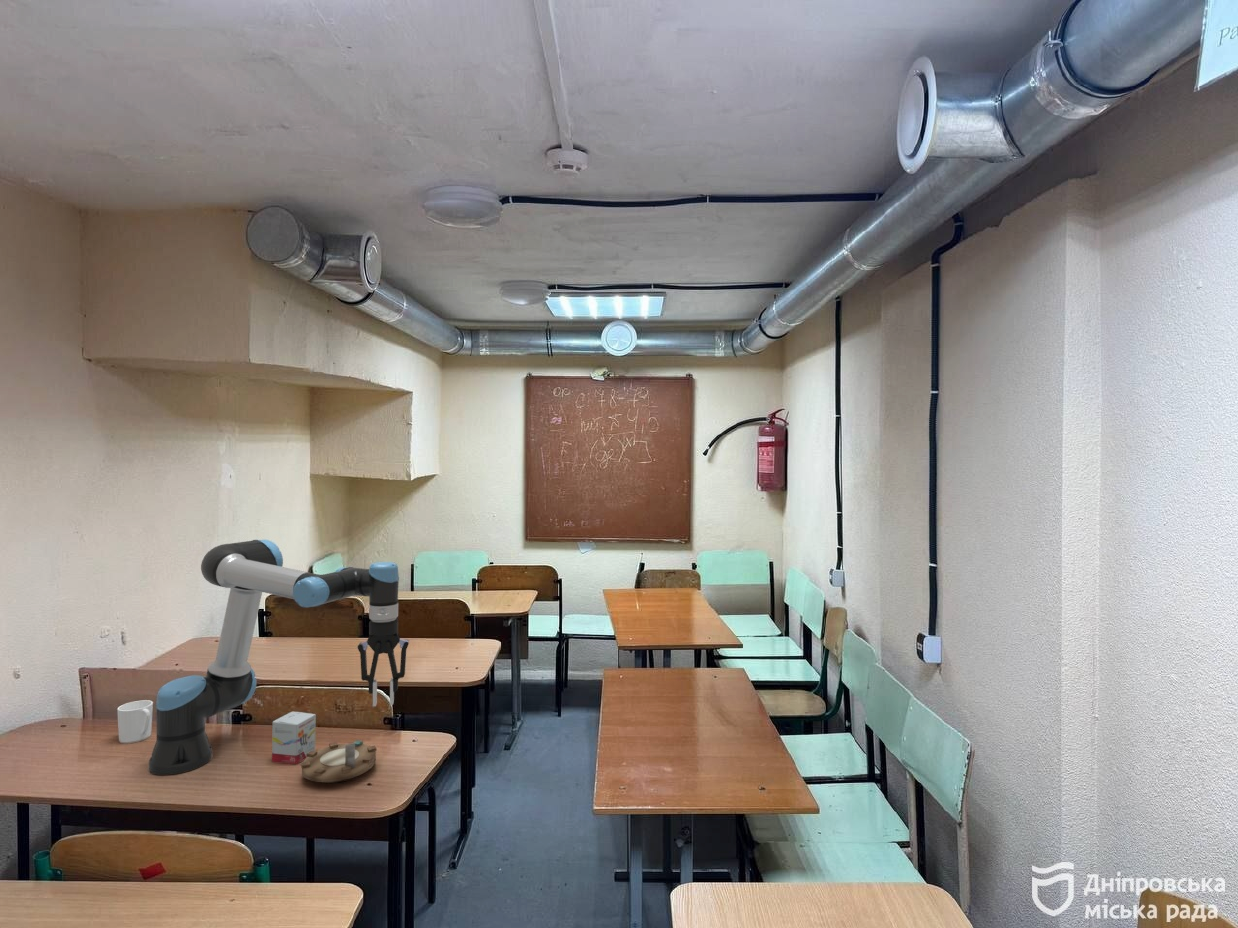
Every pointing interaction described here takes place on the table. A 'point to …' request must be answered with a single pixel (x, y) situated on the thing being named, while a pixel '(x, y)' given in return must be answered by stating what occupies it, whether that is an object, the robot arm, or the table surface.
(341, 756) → the turntable
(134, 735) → the mug
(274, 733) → the ink box
